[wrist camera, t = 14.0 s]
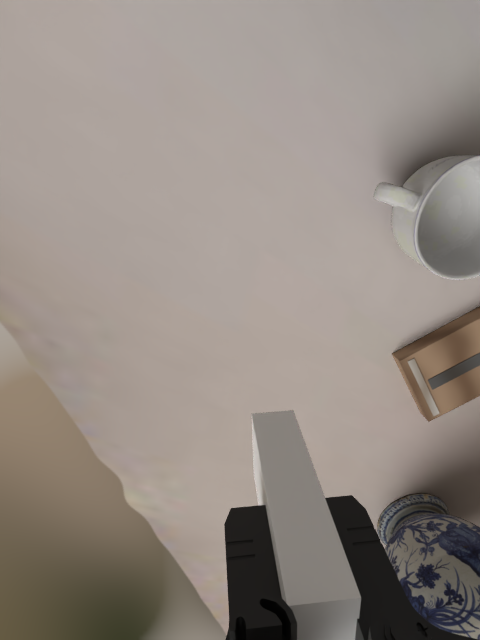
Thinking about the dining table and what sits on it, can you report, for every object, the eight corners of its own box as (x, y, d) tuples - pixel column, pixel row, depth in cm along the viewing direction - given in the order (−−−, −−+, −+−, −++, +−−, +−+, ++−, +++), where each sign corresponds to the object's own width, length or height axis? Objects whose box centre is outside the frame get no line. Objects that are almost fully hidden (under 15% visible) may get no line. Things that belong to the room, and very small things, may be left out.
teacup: (498, 188, 41) (562, 192, 34) (436, 278, 44) (483, 300, 37) (392, 119, 38) (438, 107, 30) (334, 221, 41) (362, 233, 34)
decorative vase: (340, 576, 60) (444, 882, 34) (340, 481, 54) (469, 769, 28) (473, 557, 61) (673, 839, 35) (489, 461, 55) (749, 720, 29)
